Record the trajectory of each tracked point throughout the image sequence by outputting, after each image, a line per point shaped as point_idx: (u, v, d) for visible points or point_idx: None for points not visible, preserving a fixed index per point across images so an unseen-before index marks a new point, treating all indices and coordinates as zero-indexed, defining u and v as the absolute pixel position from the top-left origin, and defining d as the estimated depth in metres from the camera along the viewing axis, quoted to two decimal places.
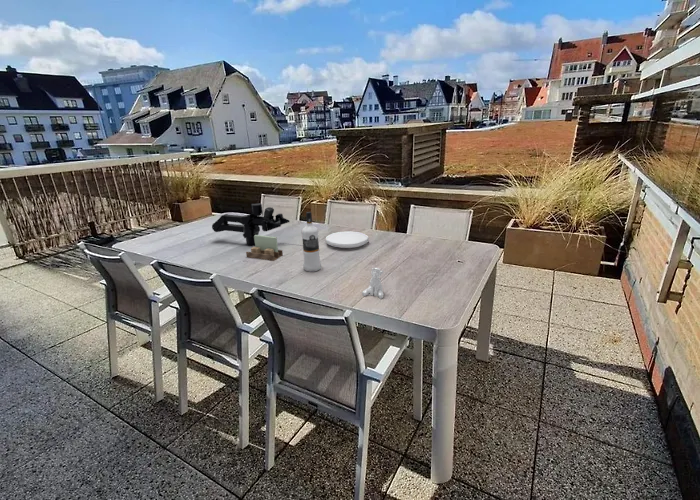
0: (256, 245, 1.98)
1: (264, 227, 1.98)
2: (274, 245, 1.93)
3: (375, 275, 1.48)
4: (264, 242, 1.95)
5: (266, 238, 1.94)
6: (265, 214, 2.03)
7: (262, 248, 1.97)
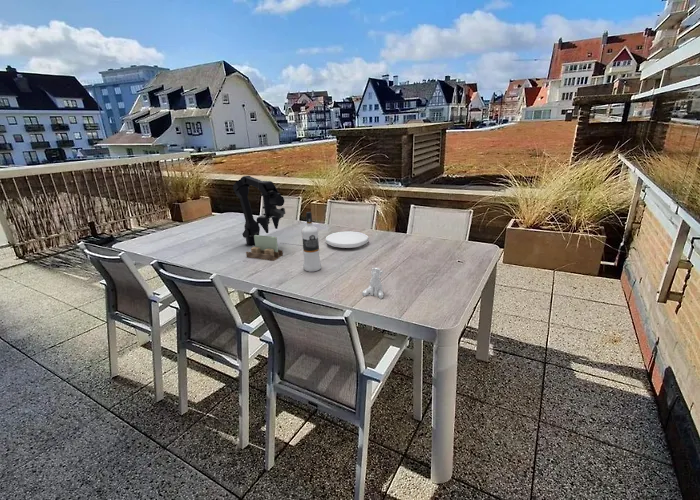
0: (256, 245, 1.98)
1: (259, 221, 1.90)
2: (274, 245, 1.93)
3: (375, 275, 1.48)
4: (264, 242, 1.95)
5: (266, 238, 1.94)
6: (275, 213, 1.93)
7: (262, 248, 1.97)
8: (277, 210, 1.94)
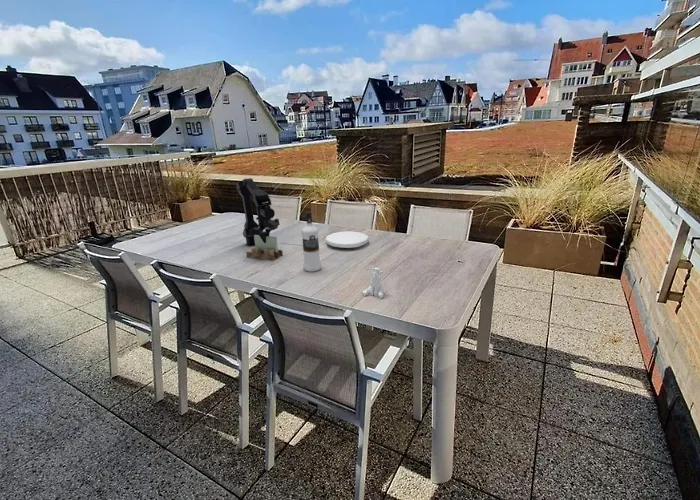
0: (256, 245, 1.98)
1: (253, 233, 1.85)
2: (274, 245, 1.93)
3: (375, 275, 1.48)
4: None
5: (266, 238, 1.94)
6: (268, 224, 1.88)
7: (262, 248, 1.97)
8: (271, 221, 1.90)
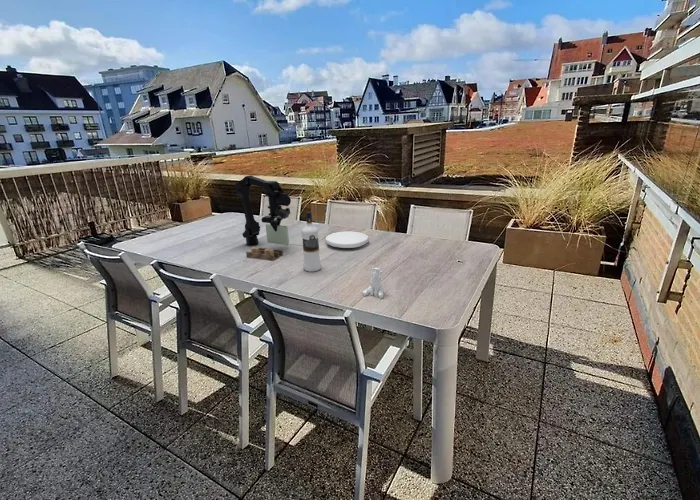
0: (267, 234, 2.03)
1: (264, 221, 1.91)
2: (285, 234, 1.98)
3: (375, 275, 1.48)
4: (275, 231, 2.00)
5: (277, 227, 1.99)
6: (280, 213, 1.93)
7: (273, 237, 2.02)
8: (282, 210, 1.95)
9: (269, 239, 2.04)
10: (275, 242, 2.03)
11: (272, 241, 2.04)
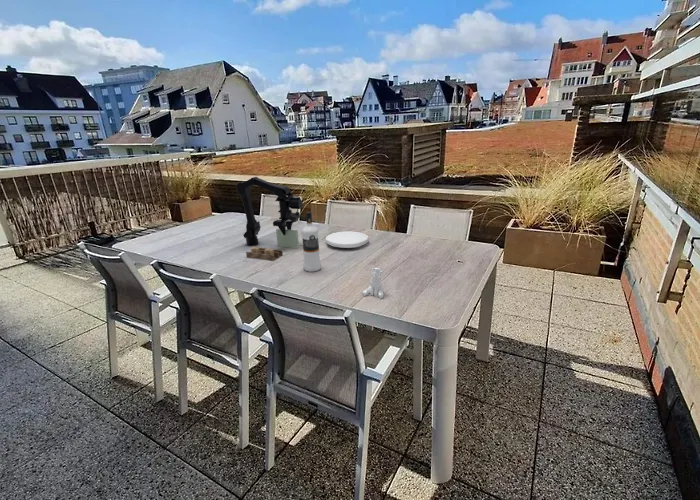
0: (278, 238, 2.11)
1: (276, 225, 1.98)
2: (295, 238, 2.06)
3: (375, 275, 1.48)
4: (286, 235, 2.08)
5: (288, 231, 2.06)
6: (290, 217, 2.01)
7: (283, 241, 2.10)
8: (292, 214, 2.02)
9: (279, 243, 2.12)
10: (285, 245, 2.10)
11: (282, 245, 2.11)
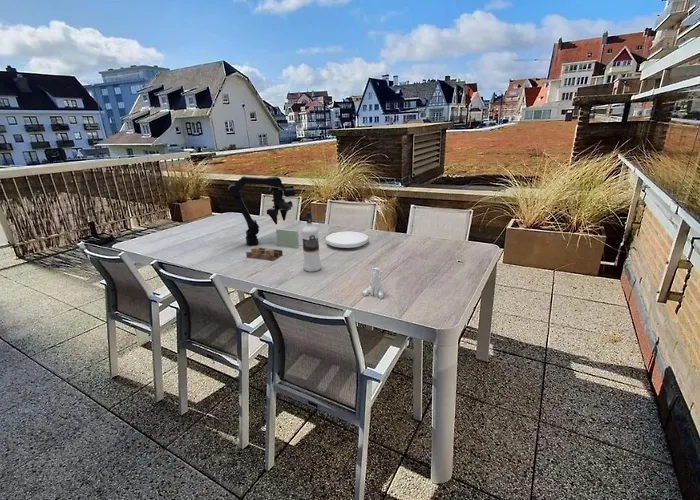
0: (278, 238, 2.11)
1: (269, 213, 2.08)
2: (295, 238, 2.06)
3: (375, 275, 1.48)
4: (286, 235, 2.08)
5: (288, 231, 2.06)
6: (283, 205, 2.11)
7: (283, 241, 2.10)
8: (285, 203, 2.12)
9: (279, 243, 2.12)
10: (285, 245, 2.10)
11: (282, 245, 2.11)
